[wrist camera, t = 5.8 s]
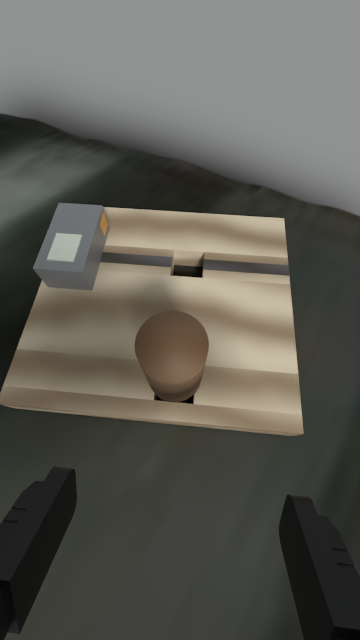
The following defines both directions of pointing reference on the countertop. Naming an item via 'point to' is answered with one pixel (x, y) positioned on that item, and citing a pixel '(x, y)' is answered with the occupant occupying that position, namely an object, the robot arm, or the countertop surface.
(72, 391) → the board
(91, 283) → the block
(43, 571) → the robot arm
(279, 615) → the countertop surface
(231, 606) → the countertop surface
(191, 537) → the countertop surface
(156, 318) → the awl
